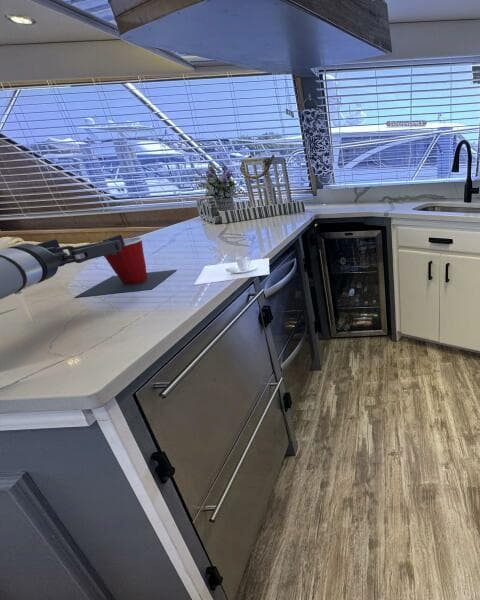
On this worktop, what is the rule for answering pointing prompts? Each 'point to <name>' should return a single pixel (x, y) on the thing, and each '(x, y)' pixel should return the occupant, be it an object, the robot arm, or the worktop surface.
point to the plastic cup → (129, 262)
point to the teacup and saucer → (234, 270)
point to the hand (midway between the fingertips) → (90, 242)
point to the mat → (117, 286)
